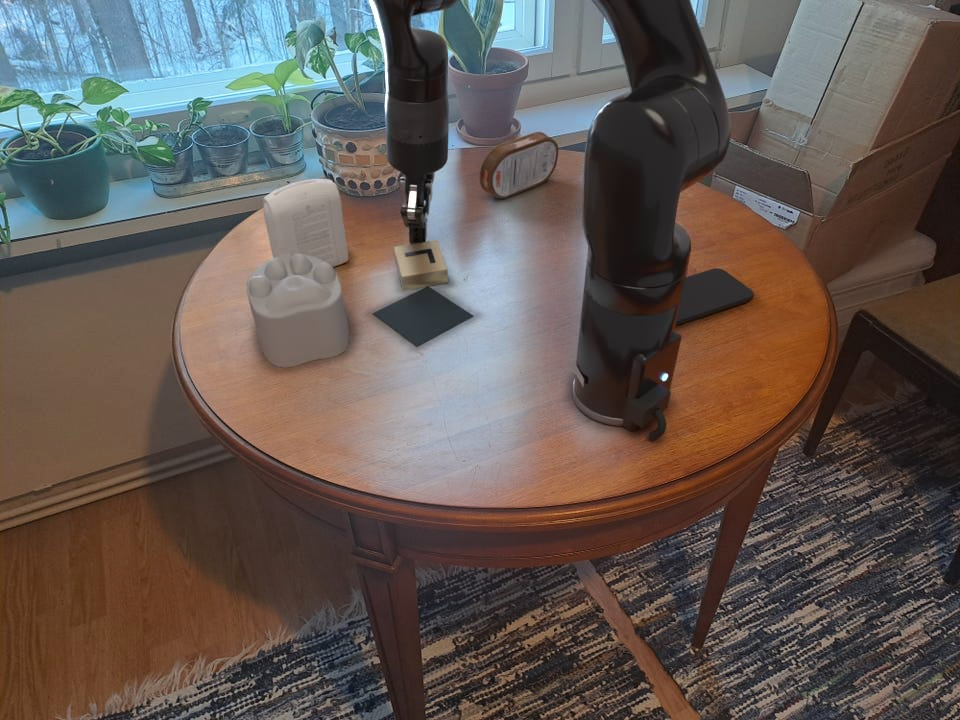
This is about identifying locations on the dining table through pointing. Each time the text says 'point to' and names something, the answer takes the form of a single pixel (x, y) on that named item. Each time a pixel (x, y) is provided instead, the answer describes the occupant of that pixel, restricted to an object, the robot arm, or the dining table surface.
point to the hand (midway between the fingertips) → (418, 241)
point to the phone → (710, 294)
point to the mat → (422, 315)
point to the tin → (518, 165)
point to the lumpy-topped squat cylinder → (298, 310)
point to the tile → (420, 265)
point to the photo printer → (307, 221)
